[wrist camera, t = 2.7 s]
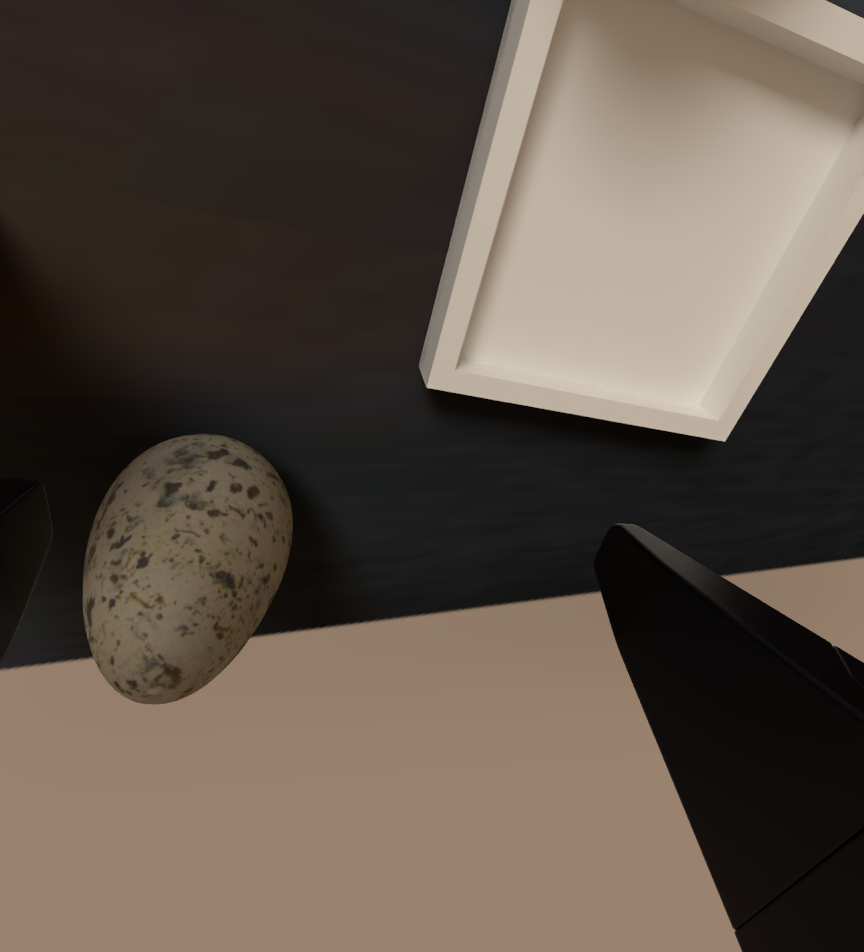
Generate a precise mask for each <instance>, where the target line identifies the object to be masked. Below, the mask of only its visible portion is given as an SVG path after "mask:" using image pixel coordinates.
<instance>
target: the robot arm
mask: <svg viewBox="0 0 864 952" xmlns="http://www.w3.org/2000/svg"><path fill="white" fill-rule="evenodd" d="M52 536H53V527H52V521H51V516H50V511H49V506H48V501H47V496H46V491H45V488H44V486H43V484H42V483H40V482H39V481H36V480H26V479H12V478H7V479H2V480H0V662H1V660H2V659H3V657H4V655H5V653H6V651H7V649H8V647H9V645H10V643H11V641H12V639H13V637H14V635H15V632H16V630H17V628H18V625H19V623H20V621H21V618H22V616H23V613H24V611H25V608H26V606H27V603H28V600H29V598H30V595H31V593H32V590H33V588H34V585H35V583H36V580H37V578H38V575H39V573H40V570H41V568H42V565H43V563H44V560H45V557H46V555H47V552H48V550H49V547H50V545H51V541H52ZM594 568H595V573H596V577H597V580H598V583H599V587H600V590H601V594H602V597H603V600H604V603H605V607H606V610H607V614H608V617H609V620H610V624H611V627H612V630H613V634H614V637H615V640H616V643H617V646H618V648H619V651H620V654H621V656H622V659H623V661H624V663H625V665H626V668H627V671H628V673H629V676H630V678H631V681H632V683H633V686H634V688H635V690H636V693H637V695H638V697H639V700H640V703H641V705H642V708H643V710H644V712H645V715H646V717H647V720H648V722H649V725H650V727H651V729H652V732H653V734H654V737H655V739H656V742H657V744H658V747H659V749H660V751H661V754H662V756H663V759H664V761H665V764H666V766H667V768H668V771H669V773H670V776H671V778H672V780H673V783H674V786H675V788H676V790H677V793H678V795H679V798H680V800H681V802H682V805H683V807H684V810H685V812H686V814H687V817H688V820H689V822H690V824H691V827H692V829H693V832H694V834H695V837H696V839H697V841H698V844H699V846H700V849H701V851H702V854H703V856H704V859H705V861H706V863H707V866H708V868H709V871H710V873H711V876H712V878H713V880H714V883H715V885H716V888H717V890H718V893H719V895H720V898H721V900H722V902H723V905H724V907H725V910H726V912H727V915H728V917H729V920H730V922H731V924H732V927H733V928H734V929H735V930H736V931H735V935H736V938H737V940H738V943H739V945H740V947H741V950H742V952H864V663H863V662H861V661H859V660H858V659H856V658H854V657H853V656H851V655H850V654H848V653H846V652H845V651H843V650H842V649H840V648H838V647H836V646H832V645H831V643H830V642H828V641H826V640H825V639H823V638H821V637H820V636H818V635H817V634H815V633H813V632H812V631H810V630H808V629H807V628H805V627H803V626H802V625H800V624H798V623H797V622H795V621H794V620H792V619H790V618H788V617H787V616H785V615H784V614H782V613H780V612H779V611H777V610H775V609H774V608H772V607H770V606H769V605H767V604H766V603H763V602H762V601H761V600H759V599H757V598H756V597H754V596H752V595H751V594H749V593H747V592H746V591H744V590H742V589H741V588H739V587H738V586H736V585H734V584H732V583H731V582H729V581H728V580H726V579H724V578H723V577H721V576H719V575H718V574H716V573H714V572H713V571H711V570H710V569H708V568H706V567H705V566H703V565H701V564H700V563H698V562H696V561H695V560H693V559H691V558H690V557H688V556H686V555H685V554H683V553H681V552H680V551H678V550H677V549H675V548H673V547H672V546H670V545H668V544H667V543H665V542H663V541H662V540H660V539H658V538H657V537H655V536H653V535H652V534H650V533H649V532H647V531H645V530H644V529H642V528H640V527H639V526H637V525H633V524H619V523H617V524H614V525H612V526H611V527H610V528H609V530H608V532H607V534H606V536H605V538H604V540H603V542H602V545H601V547H600V549H599V551H598V553H597V555H596V557H595V562H594Z"/></svg>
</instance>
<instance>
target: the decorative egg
mask: <svg viewBox="0 0 864 952" xmlns="http://www.w3.org/2000/svg"><path fill="white" fill-rule="evenodd" d="M292 533H293V518H292V509H291V504H290V499H289V496H288V493H287V490H286V488H285V485H284V483H283V481H282V479H281V478H280V476H279V474H278V473H277V471H276V470H275V469H274V467H273V466H272V465H271V464H270V463H269V462H268V461H267V460H266V459H265V458H264V457H263V456H262V455H261V454H260V453H259V452H257V451H256V450H254V449H253V448H252V447H250V446H248V445H246V444H244V443H242V442H240V441H238V440H235V439H232V438H229V437H225V436H220V435H213V434H192V435H185V436H180V437H176V438H173V439H170V440H167V441H164V442H162V443H159V444H157V445H156V446H154V447H152V448H150V449H148V450H147V451H145V452H144V453H142V454H141V455H140V456H138V457H137V458H136V459H134V460H133V461H132V462H131V463H130V464H129V465H128V466H127V467H126V468H125V469H124V470H123V471H122V472H121V473H120V475H119V476H118V477H117V478H116V480H115V481H114V483H113V484H112V485H111V487H110V489H109V490H108V492H107V493H106V495H105V497H104V499H103V501H102V503H101V505H100V507H99V509H98V512H97V515H96V518H95V520H94V523H93V526H92V529H91V532H90V536H89V540H88V545H87V550H86V556H85V563H84V573H83V615H84V623H85V629H86V633H87V638H88V641H89V645H90V648H91V651H92V654H93V657H94V660H95V662H96V664H97V666H98V668H99V670H100V672H101V673H102V674H103V676H104V677H105V679H106V680H107V682H108V683H109V684H110V685H111V686H112V687H113V688H114V689H115V690H116V691H117V692H119V693H120V694H121V695H123V696H124V697H126V698H128V699H130V700H132V701H135V702H139V703H143V704H164V703H169V702H173V701H177V700H180V699H182V698H184V697H187V696H189V695H190V694H192V693H194V692H196V691H197V690H199V689H201V688H202V687H204V686H205V685H207V684H208V683H209V682H210V681H212V680H213V679H214V678H215V677H216V676H217V675H218V674H219V673H221V672H222V671H223V670H224V669H225V668H226V667H227V666H228V665H229V663H230V662H231V661H232V660H233V659H234V658H235V657H236V656H237V654H238V653H239V652H240V651H241V649H242V648H243V647H244V646H245V644H246V643H247V641H248V640H249V639H250V637H251V636H252V634H253V633H254V631H255V630H256V628H257V627H258V625H259V623H260V622H261V620H262V618H263V617H264V615H265V614H266V612H267V609H268V608H269V606H270V604H271V602H272V600H273V598H274V596H275V594H276V592H277V590H278V588H279V585H280V583H281V580H282V578H283V575H284V572H285V569H286V566H287V562H288V558H289V554H290V548H291V543H292Z"/></svg>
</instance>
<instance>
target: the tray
mask: <svg viewBox="0 0 864 952" xmlns="http://www.w3.org/2000/svg"><path fill="white" fill-rule="evenodd" d="M863 213H864V19H863V18H861V17H859V16H857V15H855V14H853V13H851V12H848V11H846V10H844V9H842V8H840V7H838V6H836V5H834V4H832V3H830V2H828V1H826V0H512V1H511V5H510V9H509V13H508V17H507V20H506V24H505V28H504V32H503V36H502V40H501V44H500V48H499V52H498V56H497V60H496V64H495V68H494V72H493V76H492V79H491V83H490V87H489V91H488V95H487V99H486V103H485V107H484V111H483V115H482V119H481V123H480V127H479V131H478V134H477V138H476V142H475V146H474V150H473V154H472V158H471V162H470V166H469V170H468V174H467V178H466V182H465V186H464V190H463V193H462V197H461V201H460V205H459V209H458V213H457V217H456V221H455V225H454V229H453V233H452V237H451V241H450V245H449V248H448V252H447V256H446V260H445V264H444V268H443V272H442V276H441V280H440V284H439V288H438V292H437V296H436V300H435V303H434V307H433V311H432V315H431V319H430V323H429V327H428V331H427V335H426V339H425V343H424V347H423V351H422V355H421V359H420V362H419V369H420V371H421V374H422V377H423V380H424V382H425V385H426V388H431V389H436V390H442V391H447V392H453V393H458V394H464V395H469V396H475V397H481V398H486V399H492V400H497V401H503V402H508V403H514V404H519V405H525V406H531V407H536V408H542V409H547V410H553V411H558V412H564V413H569V414H575V415H580V416H586V417H592V418H597V419H603V420H608V421H614V422H619V423H625V424H630V425H636V426H641V427H647V428H653V429H658V430H664V431H669V432H675V433H680V434H686V435H691V436H697V437H702V438H708V439H714V440H719V441H726V439H727V437H728V436H729V434H730V432H731V431H732V429H733V427H734V426H735V424H736V422H737V421H738V419H739V418H740V416H741V414H742V413H743V411H744V409H745V408H746V406H747V404H748V403H749V401H750V399H751V398H752V396H753V394H754V393H755V391H756V390H757V388H758V386H759V385H760V383H761V381H762V380H763V378H764V376H765V375H766V373H767V371H768V370H769V368H770V366H771V365H772V363H773V362H774V360H775V358H776V357H777V355H778V353H779V352H780V350H781V348H782V347H783V345H784V343H785V342H786V340H787V338H788V337H789V335H790V334H791V332H792V330H793V329H794V327H795V325H796V324H797V322H798V320H799V319H800V317H801V315H802V314H803V312H804V310H805V309H806V307H807V306H808V304H809V302H810V301H811V299H812V297H813V296H814V294H815V292H816V291H817V289H818V287H819V286H820V284H821V282H822V281H823V279H824V278H825V276H826V274H827V273H828V271H829V269H830V268H831V266H832V264H833V263H834V261H835V259H836V258H837V256H838V254H839V253H840V251H841V250H842V248H843V246H844V245H845V243H846V241H847V240H848V238H849V236H850V235H851V233H852V231H853V230H854V228H855V226H856V225H857V223H858V222H859V220H860V218H861V217H862V215H863Z"/></svg>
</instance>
